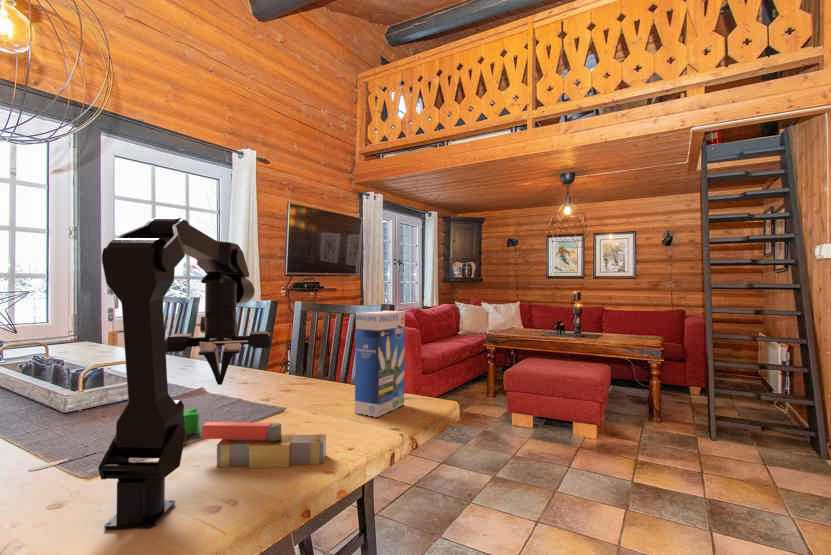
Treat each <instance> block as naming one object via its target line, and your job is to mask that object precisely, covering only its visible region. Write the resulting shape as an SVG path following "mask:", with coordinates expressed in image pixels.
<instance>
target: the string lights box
mask: <svg viewBox="0 0 831 555" xmlns="http://www.w3.org/2000/svg"><path fill="white" fill-rule="evenodd" d="M405 318H406V312H405V310H403V311H400V310H381V311H365V312H356V313H355V356H354V357H355V359H354V360H355V364H354V365H355V369H354V372H355V373H354V414H357V415H361V414H363V415H362V416H366V415H368V416H367V417H371V416H373V417H372V418H376V417H378V418H379V416H380V417H381V415H382V416H384V415H386V414H388V413H387V412H389V411H391V410H393V409H395V410H397V409H399V408H398V407H400V406H402V405H404V406H405V349H406V348H405V343H406V342H405V338H406V336H405V335H406V333H405V328H406V324H405V323H406V319H405ZM402 407H403V406H402ZM396 408H397V409H396ZM400 408H401V407H400ZM393 411H394V410H393ZM391 412H392V411H391ZM385 413H386V414H385ZM389 413H390V412H389ZM383 414H384V415H383Z"/></svg>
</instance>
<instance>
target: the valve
mask: <svg viewBox="0 0 831 555" xmlns="http://www.w3.org/2000/svg"><path fill="white" fill-rule="evenodd" d="M326 456H327V434H324V433H321V434H320V433H316V434H297V433H295V432H294V433H293V432H292V433H285V432H284V433H281V439H279V440H276V441H267V440H266V439H220V441H219V442H218V443H217V444H216V468H230V467H248V468H249V469H268V468H269V469H270V468H271V469H273V468H274V469H275V468H290V466H292V465H293V466H294V465H295V466H298V465H311V466H312V465H313V466H315V465H323V464H324V463H325V460H326Z"/></svg>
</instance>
